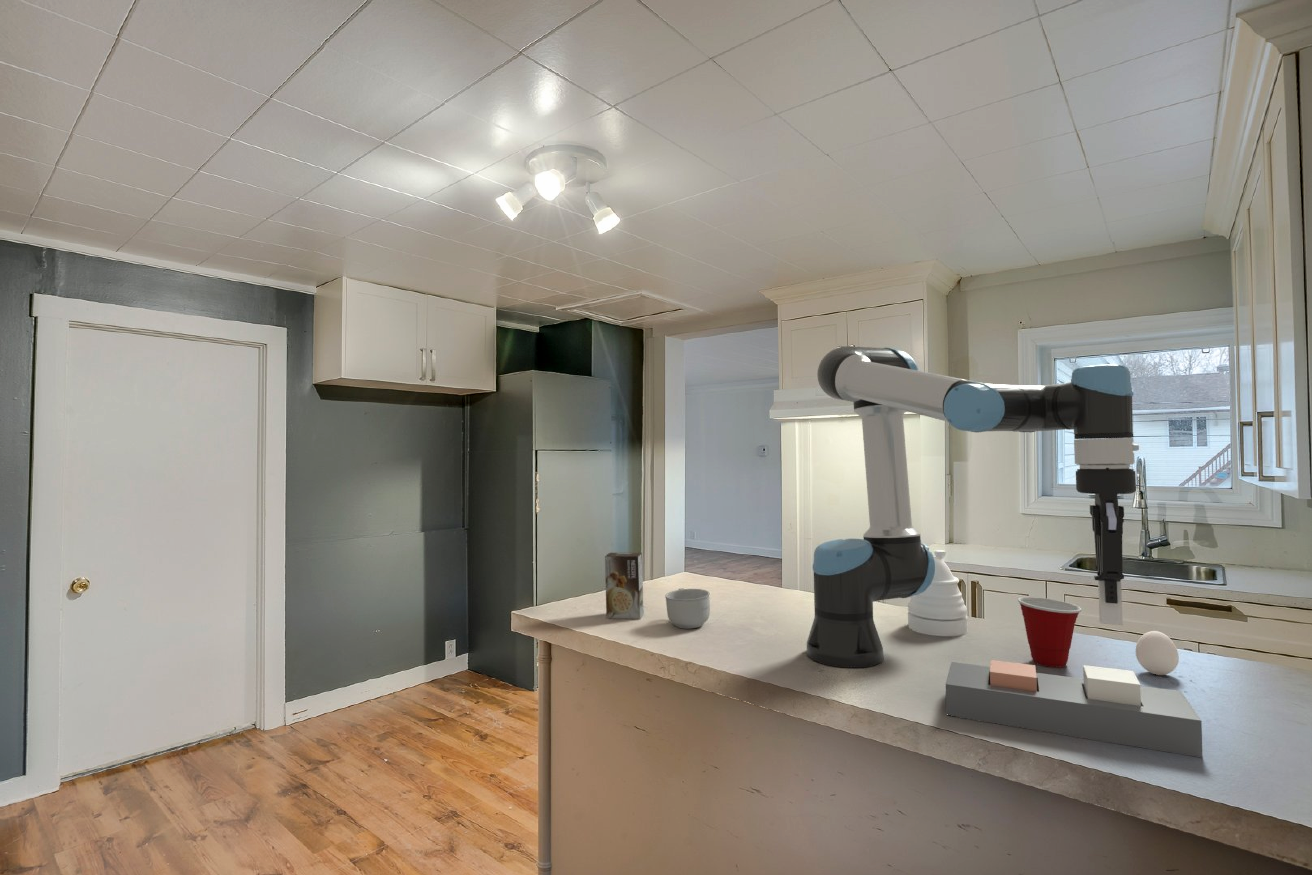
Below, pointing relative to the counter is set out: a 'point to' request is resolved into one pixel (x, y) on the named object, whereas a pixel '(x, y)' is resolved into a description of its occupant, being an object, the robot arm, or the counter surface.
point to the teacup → (688, 607)
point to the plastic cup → (1049, 629)
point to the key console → (1076, 711)
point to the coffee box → (624, 585)
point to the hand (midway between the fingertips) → (1111, 623)
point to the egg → (1157, 653)
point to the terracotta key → (1013, 675)
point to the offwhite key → (1111, 685)
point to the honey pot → (939, 604)
